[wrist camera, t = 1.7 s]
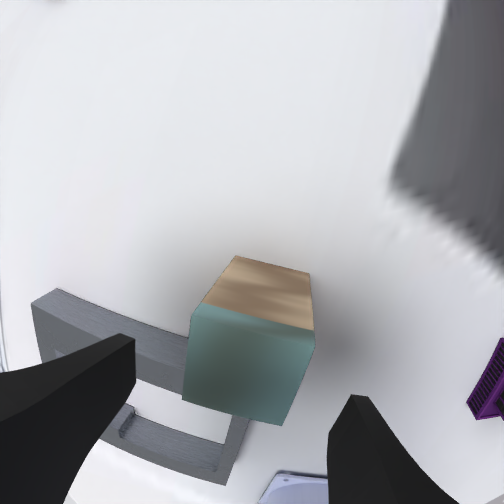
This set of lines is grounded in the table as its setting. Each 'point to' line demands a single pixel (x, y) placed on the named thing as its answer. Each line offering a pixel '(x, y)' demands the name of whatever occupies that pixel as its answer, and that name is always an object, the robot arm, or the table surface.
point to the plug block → (251, 341)
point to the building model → (490, 388)
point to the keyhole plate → (147, 369)
